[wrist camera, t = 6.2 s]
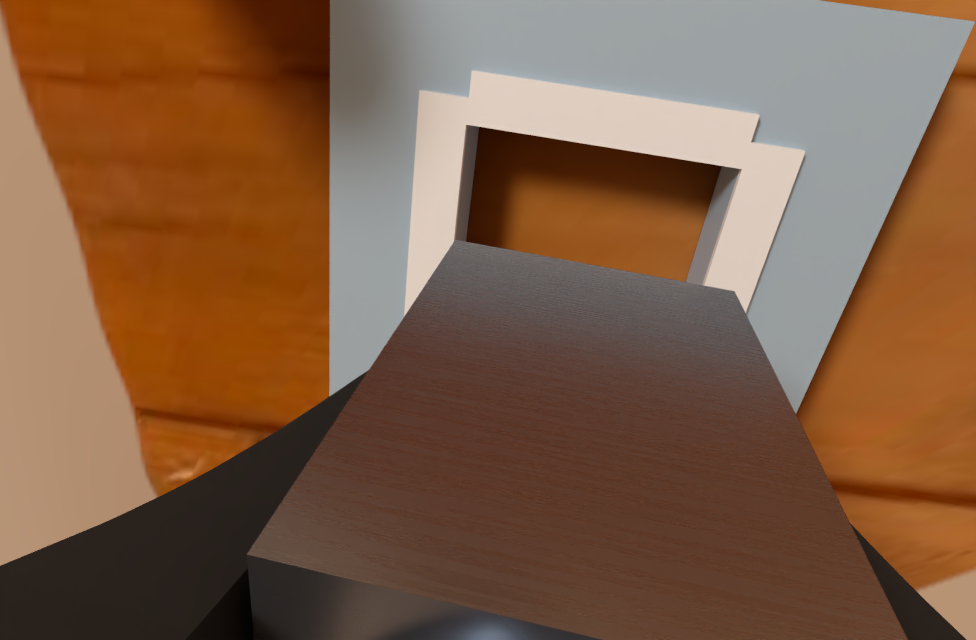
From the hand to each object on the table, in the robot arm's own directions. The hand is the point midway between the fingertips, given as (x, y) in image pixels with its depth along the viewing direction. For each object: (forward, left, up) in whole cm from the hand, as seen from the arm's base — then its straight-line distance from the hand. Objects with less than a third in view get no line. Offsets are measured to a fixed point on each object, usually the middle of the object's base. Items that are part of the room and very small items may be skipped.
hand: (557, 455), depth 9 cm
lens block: (0, 0, -2) cm, 2 cm away
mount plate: (0, 0, -9) cm, 9 cm away
